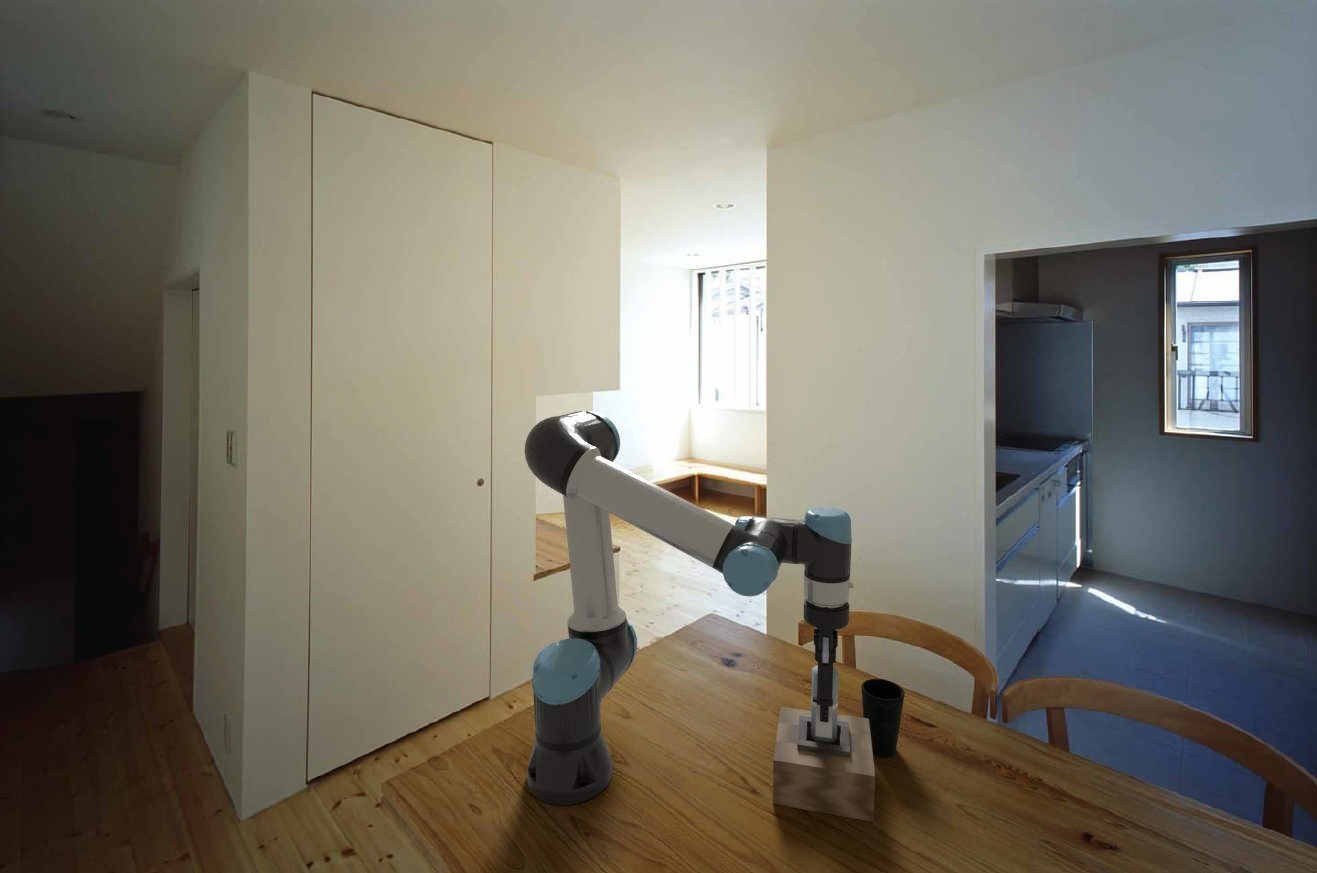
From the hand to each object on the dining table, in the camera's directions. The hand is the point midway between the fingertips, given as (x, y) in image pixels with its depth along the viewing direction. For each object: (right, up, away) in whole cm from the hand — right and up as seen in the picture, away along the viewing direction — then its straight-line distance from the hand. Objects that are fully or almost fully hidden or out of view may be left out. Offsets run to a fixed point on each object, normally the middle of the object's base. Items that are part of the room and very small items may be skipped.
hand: (823, 726), depth 106 cm
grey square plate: (0, -5, +1) cm, 5 cm away
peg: (0, -2, 0) cm, 2 cm away
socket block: (0, -10, +1) cm, 10 cm away
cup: (+14, -9, +10) cm, 19 cm away
